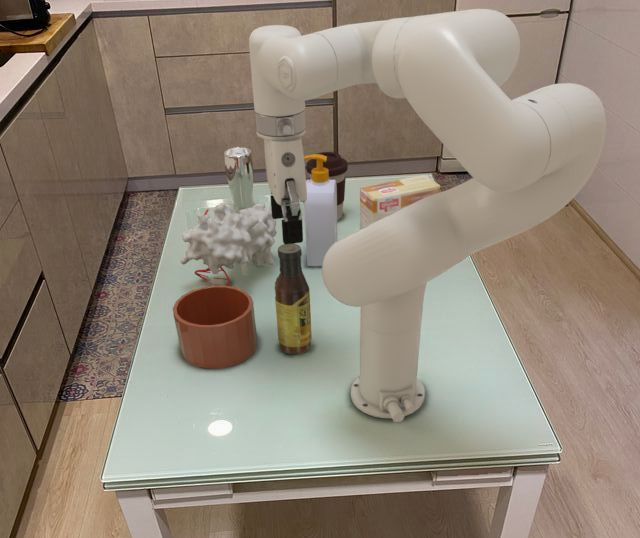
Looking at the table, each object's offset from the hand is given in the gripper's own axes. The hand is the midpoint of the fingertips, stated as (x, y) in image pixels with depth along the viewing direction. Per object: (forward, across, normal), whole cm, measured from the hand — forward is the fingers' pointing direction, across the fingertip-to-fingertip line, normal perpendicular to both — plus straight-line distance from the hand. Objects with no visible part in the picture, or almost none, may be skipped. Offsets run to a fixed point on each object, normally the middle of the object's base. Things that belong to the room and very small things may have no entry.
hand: (287, 229), depth 112 cm
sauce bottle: (+23, 0, 0) cm, 23 cm away
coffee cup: (+24, +54, -20) cm, 62 cm away
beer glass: (+24, +64, 0) cm, 68 cm away
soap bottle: (+24, +33, -13) cm, 42 cm away
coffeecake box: (+23, +21, -27) cm, 41 cm away
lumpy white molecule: (+24, +30, +8) cm, 39 cm away
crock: (+23, +4, +14) cm, 27 cm away
